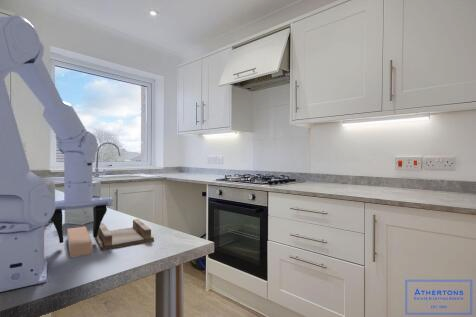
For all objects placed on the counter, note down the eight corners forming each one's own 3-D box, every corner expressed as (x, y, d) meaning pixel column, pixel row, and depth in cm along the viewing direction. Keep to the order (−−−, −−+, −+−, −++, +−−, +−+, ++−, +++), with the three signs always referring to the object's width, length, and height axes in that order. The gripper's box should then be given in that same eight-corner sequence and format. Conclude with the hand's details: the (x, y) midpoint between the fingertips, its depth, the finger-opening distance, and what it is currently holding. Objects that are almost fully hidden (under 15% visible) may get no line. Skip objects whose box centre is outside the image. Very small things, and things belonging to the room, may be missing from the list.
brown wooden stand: (153, 240, 67) (154, 228, 67) (101, 250, 60) (101, 237, 60) (140, 228, 77) (141, 218, 77) (94, 236, 70) (94, 224, 70)
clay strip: (91, 255, 59) (91, 241, 58) (70, 259, 56) (70, 245, 56) (85, 237, 70) (85, 226, 70) (67, 240, 68) (67, 228, 68)
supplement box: (83, 225, 80) (83, 183, 80) (63, 223, 82) (63, 182, 81) (101, 219, 87) (101, 181, 87) (83, 217, 89) (83, 180, 89)
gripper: (109, 178, 70) (109, 229, 70) (41, 181, 62) (41, 239, 62) (114, 181, 64) (114, 237, 65) (39, 185, 56) (40, 248, 56)
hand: (78, 238), depth 63 cm, fingers open, 6 cm apart
